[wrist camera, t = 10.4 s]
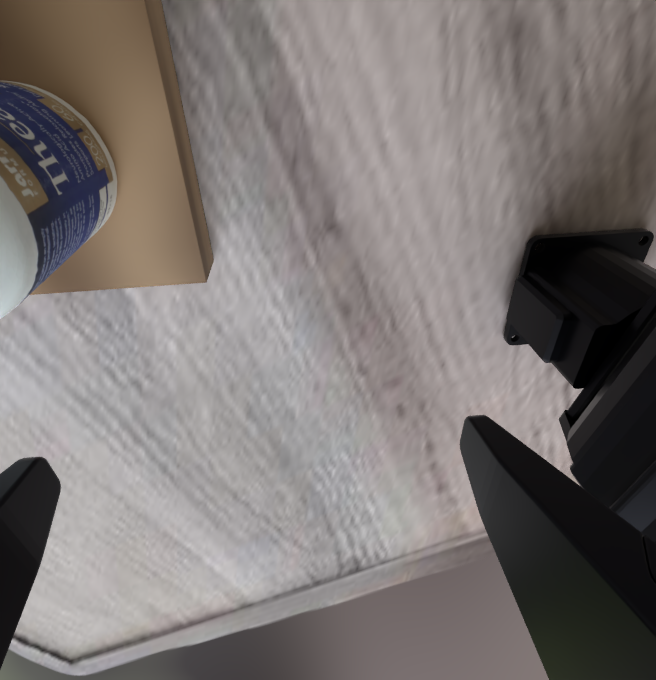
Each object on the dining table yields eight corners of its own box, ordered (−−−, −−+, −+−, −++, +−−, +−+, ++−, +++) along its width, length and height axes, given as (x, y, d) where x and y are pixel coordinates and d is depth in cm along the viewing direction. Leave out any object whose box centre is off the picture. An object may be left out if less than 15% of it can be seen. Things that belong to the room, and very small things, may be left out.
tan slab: (159, -7, 14) (140, -18, 12) (213, 260, 20) (206, 282, 18) (-146, 1, 14) (-218, -9, 12) (-1, 274, 19) (-33, 299, 17)
